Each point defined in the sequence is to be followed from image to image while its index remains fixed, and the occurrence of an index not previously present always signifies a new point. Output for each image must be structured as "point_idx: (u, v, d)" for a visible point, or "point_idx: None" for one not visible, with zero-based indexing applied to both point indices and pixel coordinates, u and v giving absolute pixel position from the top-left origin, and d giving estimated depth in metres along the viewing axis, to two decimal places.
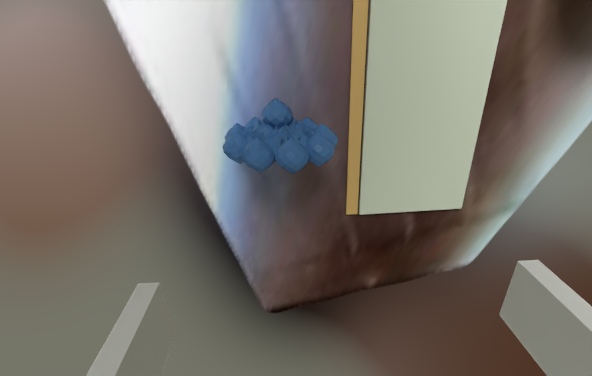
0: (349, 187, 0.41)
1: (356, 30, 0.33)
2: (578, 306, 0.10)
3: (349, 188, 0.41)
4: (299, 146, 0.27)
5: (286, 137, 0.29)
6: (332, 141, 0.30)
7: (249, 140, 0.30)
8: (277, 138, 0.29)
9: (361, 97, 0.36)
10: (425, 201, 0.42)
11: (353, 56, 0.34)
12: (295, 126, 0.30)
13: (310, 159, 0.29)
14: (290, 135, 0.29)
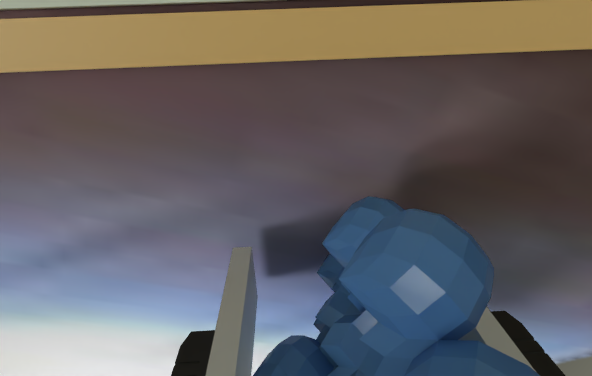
0: None
1: (58, 56, 0.10)
2: None
3: None
4: None
5: None
6: (441, 294, 0.05)
7: None
8: None
9: (272, 17, 0.10)
10: None
11: (140, 60, 0.10)
12: None
13: None
14: None
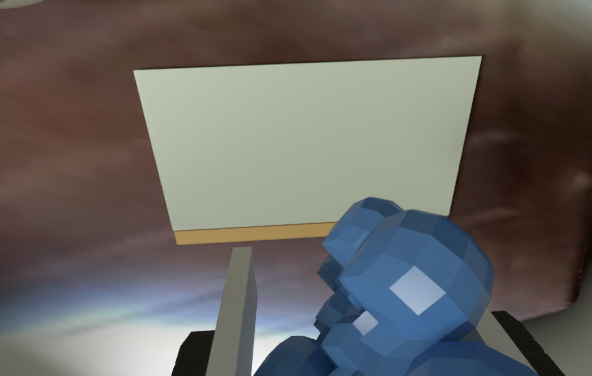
0: None
1: (215, 239, 0.30)
2: None
3: None
4: None
5: None
6: (441, 294, 0.05)
7: None
8: None
9: (286, 227, 0.30)
10: (450, 124, 0.26)
11: (242, 239, 0.30)
12: None
13: None
14: None
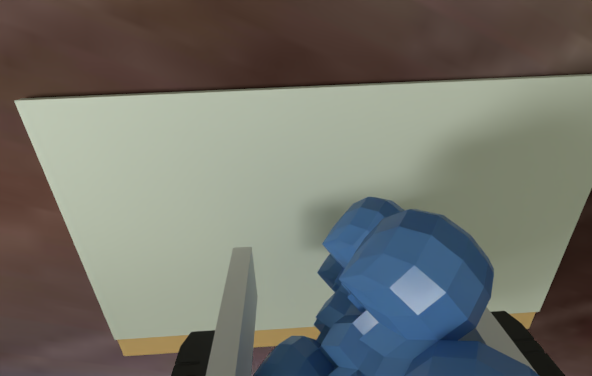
0: None
1: None
2: None
3: None
4: None
5: None
6: (441, 294, 0.05)
7: None
8: None
9: (291, 330, 0.20)
10: (565, 184, 0.16)
11: None
12: None
13: None
14: None
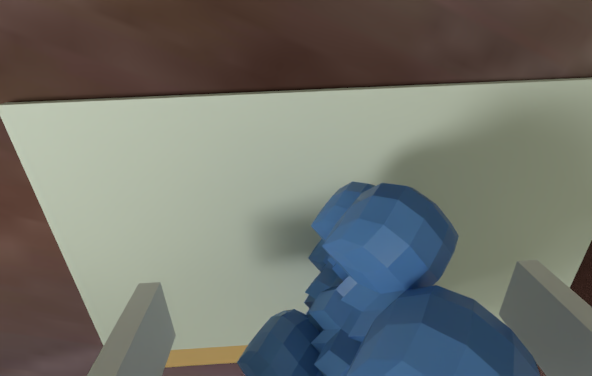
0: None
1: (178, 362, 0.19)
2: (577, 306, 0.10)
3: None
4: None
5: None
6: (405, 247, 0.06)
7: None
8: None
9: None
10: (583, 194, 0.15)
11: (221, 361, 0.19)
12: (321, 370, 0.08)
13: None
14: None
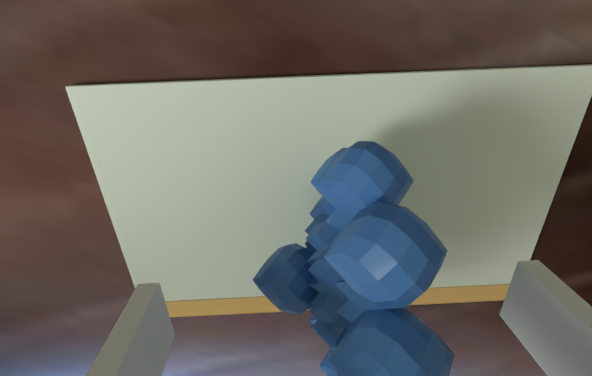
0: (456, 299, 0.22)
1: (198, 311, 0.22)
2: (578, 306, 0.10)
3: (458, 299, 0.22)
4: (357, 361, 0.08)
5: (336, 320, 0.10)
6: (367, 179, 0.09)
7: None
8: (339, 327, 0.11)
9: None
10: (540, 164, 0.18)
11: (235, 312, 0.22)
12: (312, 273, 0.11)
13: None
14: (333, 300, 0.10)
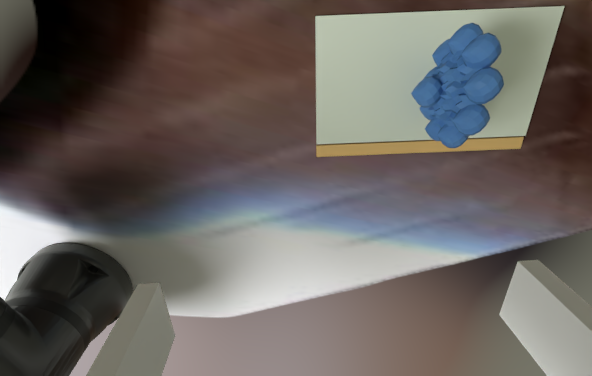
0: (488, 147, 0.40)
1: (345, 152, 0.40)
2: (578, 306, 0.10)
3: (490, 147, 0.40)
4: (475, 78, 0.25)
5: (458, 88, 0.28)
6: (473, 32, 0.27)
7: (450, 123, 0.30)
8: (456, 96, 0.28)
9: (400, 143, 0.40)
10: (535, 59, 0.35)
11: (365, 153, 0.40)
12: (446, 75, 0.29)
13: (492, 63, 0.26)
14: (456, 82, 0.28)
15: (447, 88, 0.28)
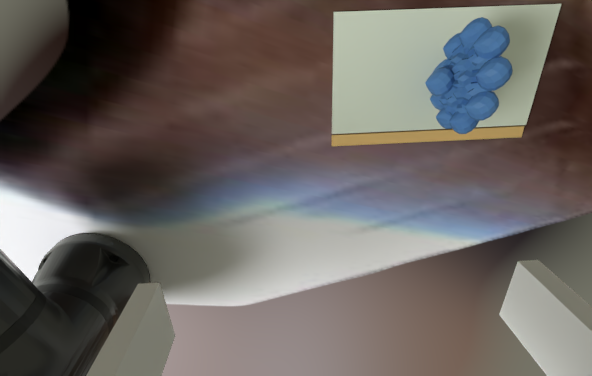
0: (492, 136, 0.43)
1: (359, 142, 0.42)
2: (578, 306, 0.10)
3: (493, 136, 0.43)
4: (487, 67, 0.28)
5: (470, 76, 0.30)
6: (483, 25, 0.29)
7: (461, 110, 0.33)
8: (468, 84, 0.31)
9: (410, 133, 0.42)
10: (535, 53, 0.38)
11: (377, 142, 0.42)
12: (458, 65, 0.31)
13: (501, 53, 0.28)
14: (468, 72, 0.31)
15: (459, 77, 0.31)
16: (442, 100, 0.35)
